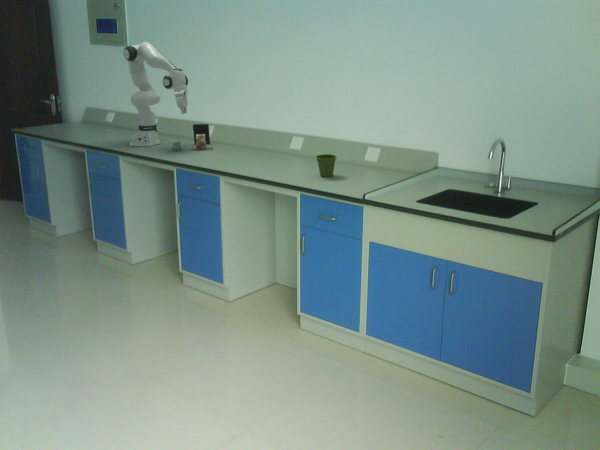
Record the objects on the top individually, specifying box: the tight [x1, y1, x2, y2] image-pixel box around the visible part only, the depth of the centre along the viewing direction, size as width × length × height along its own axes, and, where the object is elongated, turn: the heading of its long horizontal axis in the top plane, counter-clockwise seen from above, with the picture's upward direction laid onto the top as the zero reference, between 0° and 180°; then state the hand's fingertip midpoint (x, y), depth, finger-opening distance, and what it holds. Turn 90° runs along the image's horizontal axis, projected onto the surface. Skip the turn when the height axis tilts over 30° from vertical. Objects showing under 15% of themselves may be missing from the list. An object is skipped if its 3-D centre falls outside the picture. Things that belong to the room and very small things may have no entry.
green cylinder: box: [172, 141, 182, 152], centre depth 421 cm, size 6×6×6 cm
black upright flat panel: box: [192, 123, 211, 146], centre depth 440 cm, size 11×4×15 cm, turn 84°
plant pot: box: [315, 153, 337, 178], centre depth 340 cm, size 12×12×11 cm
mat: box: [189, 146, 214, 152], centre depth 424 cm, size 16×12×1 cm
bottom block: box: [195, 141, 208, 150], centre depth 423 cm, size 7×7×5 cm
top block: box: [196, 134, 205, 143], centre depth 421 cm, size 6×6×5 cm
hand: (184, 113), depth 413 cm, fingers open, 8 cm apart
